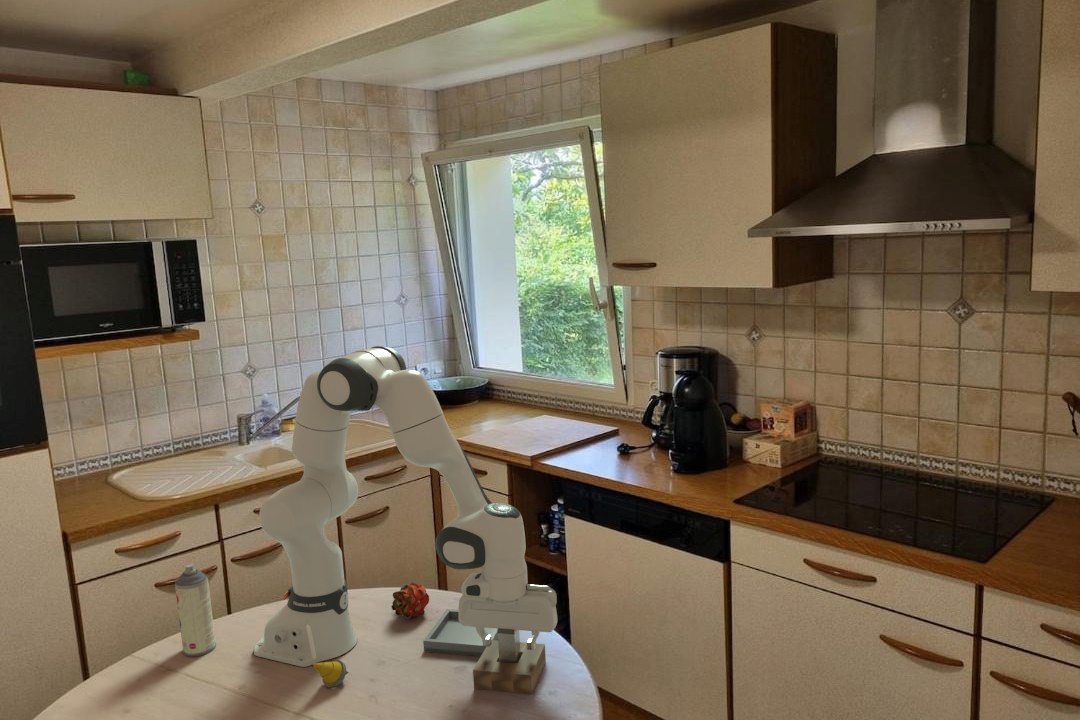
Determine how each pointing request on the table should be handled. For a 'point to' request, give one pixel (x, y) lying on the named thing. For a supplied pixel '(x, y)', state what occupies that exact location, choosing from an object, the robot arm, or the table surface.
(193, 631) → the aerosol can
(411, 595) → the dragon fruit
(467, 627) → the tray
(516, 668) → the hitch block
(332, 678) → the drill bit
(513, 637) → the metal pin
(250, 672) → the table surface
